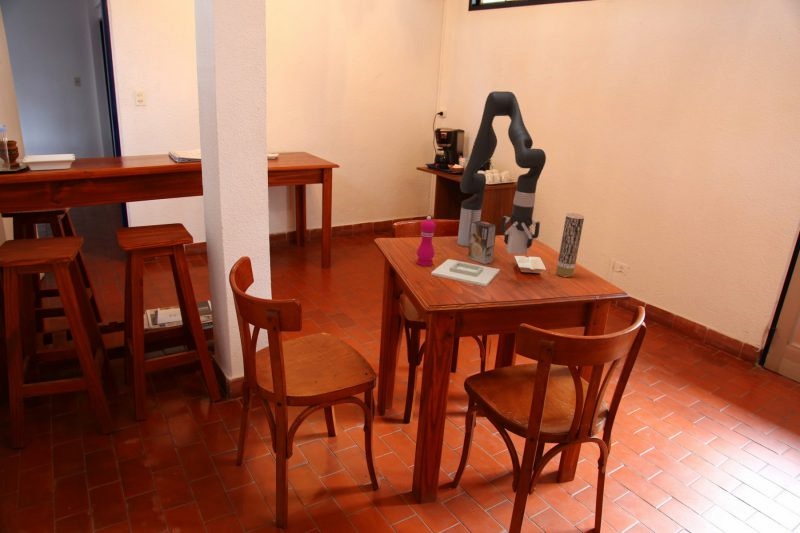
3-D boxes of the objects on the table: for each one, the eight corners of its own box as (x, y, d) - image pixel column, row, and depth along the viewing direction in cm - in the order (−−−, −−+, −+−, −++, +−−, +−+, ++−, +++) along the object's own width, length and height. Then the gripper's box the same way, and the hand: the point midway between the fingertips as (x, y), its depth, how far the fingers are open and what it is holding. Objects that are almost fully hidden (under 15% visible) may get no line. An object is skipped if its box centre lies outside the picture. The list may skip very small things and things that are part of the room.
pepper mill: (432, 267, 216) (436, 219, 209) (414, 265, 217) (418, 217, 210) (434, 262, 222) (439, 215, 216) (417, 260, 224) (421, 213, 217)
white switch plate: (448, 261, 225) (448, 255, 224) (499, 271, 217) (500, 265, 216) (431, 274, 207) (431, 268, 207) (486, 286, 199) (487, 280, 199)
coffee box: (493, 261, 229) (498, 225, 224) (484, 264, 224) (489, 227, 219) (475, 256, 235) (480, 220, 230) (466, 258, 230) (471, 222, 225)
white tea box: (526, 253, 203) (530, 228, 199) (510, 253, 201) (513, 228, 198) (522, 250, 206) (526, 225, 203) (506, 250, 205) (509, 225, 201)
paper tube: (561, 271, 223) (571, 212, 215) (576, 276, 219) (587, 216, 210) (552, 274, 218) (563, 214, 210) (567, 279, 214) (579, 218, 206)
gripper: (545, 204, 198) (538, 246, 204) (507, 198, 203) (501, 240, 209) (541, 208, 192) (534, 252, 197) (502, 202, 197) (496, 244, 202)
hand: (517, 245), depth 203 cm, fingers closed on white tea box, 7 cm apart
